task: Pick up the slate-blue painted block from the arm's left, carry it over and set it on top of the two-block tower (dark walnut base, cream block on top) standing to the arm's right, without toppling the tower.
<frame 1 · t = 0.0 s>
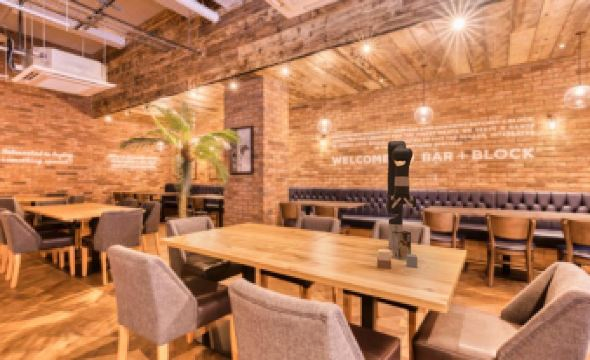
hand: (401, 214, 159), 29 cm above the table, fingers open, 8 cm apart
slate block: (411, 266, 164), on the table
tower base: (383, 266, 163), on the table, touching tower top
tower top: (383, 258, 163), point 4 cm above the table, touching tower base
coffee box: (401, 258, 181), on the table
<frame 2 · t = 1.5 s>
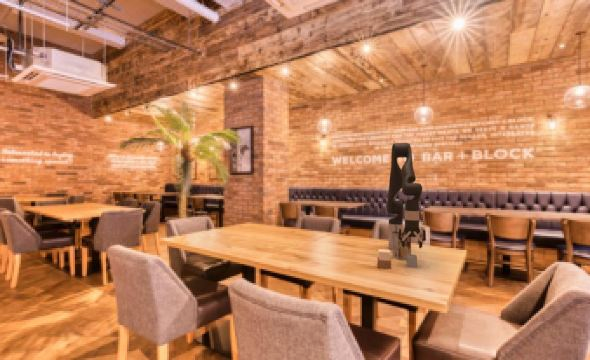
hand: (411, 247, 164), 10 cm above the table, fingers open, 8 cm apart
nothing on the table moved.
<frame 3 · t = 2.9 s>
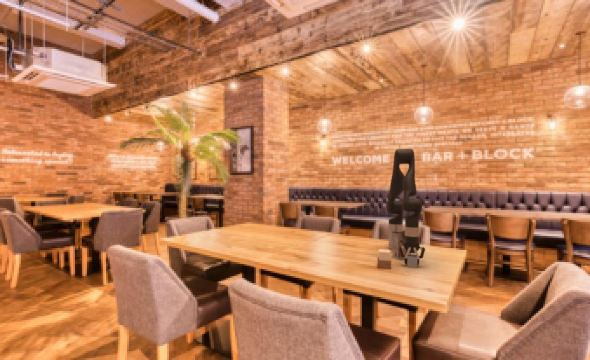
hand: (411, 264, 164), 1 cm above the table, fingers closed on slate block, 5 cm apart
slate block: (411, 266, 164), on the table, touching gripper
everything else where it was.
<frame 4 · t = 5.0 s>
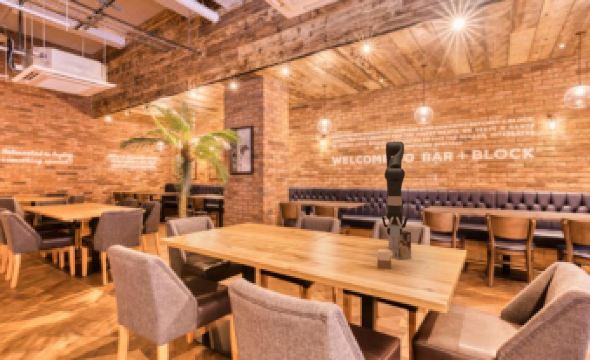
hand: (394, 234, 163), 18 cm above the table, fingers closed on slate block, 5 cm apart
slate block: (394, 236, 163), point 17 cm above the table, touching gripper
everything else where it was.
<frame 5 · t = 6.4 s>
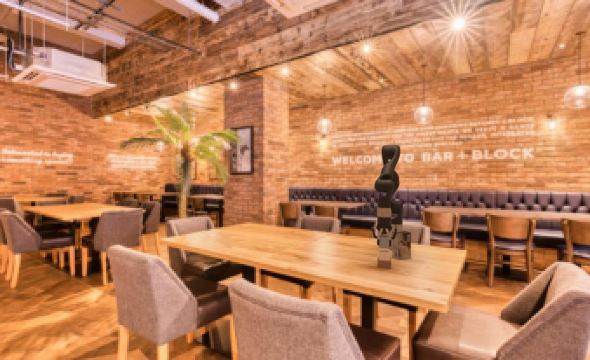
hand: (384, 246, 163), 11 cm above the table, fingers closed on slate block, 5 cm apart
slate block: (384, 247, 163), point 11 cm above the table, touching gripper
everything else where it was.
when the fingers open (11 cm above the table, at t = 7.4 s): slate block drops 1 cm, resting on tower top.
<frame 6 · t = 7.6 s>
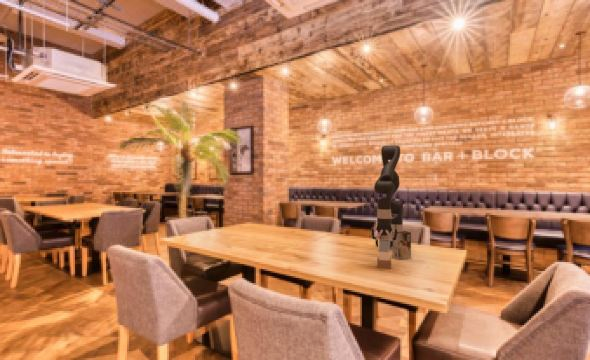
hand: (384, 246, 163), 11 cm above the table, fingers open, 6 cm apart
slate block: (384, 250, 163), point 9 cm above the table, touching tower top
tower top: (383, 258, 163), point 4 cm above the table, touching slate block, tower base
everything else where it was.
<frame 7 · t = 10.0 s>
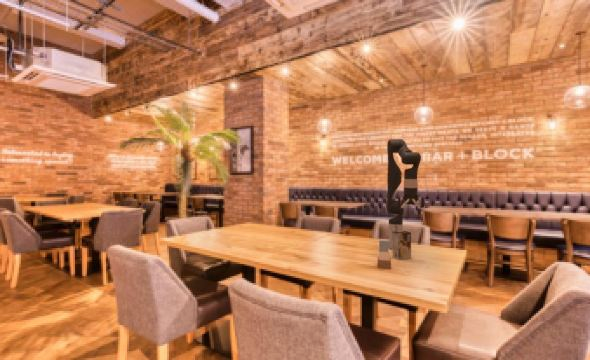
hand: (410, 214, 170), 28 cm above the table, fingers open, 8 cm apart
nothing on the table moved.
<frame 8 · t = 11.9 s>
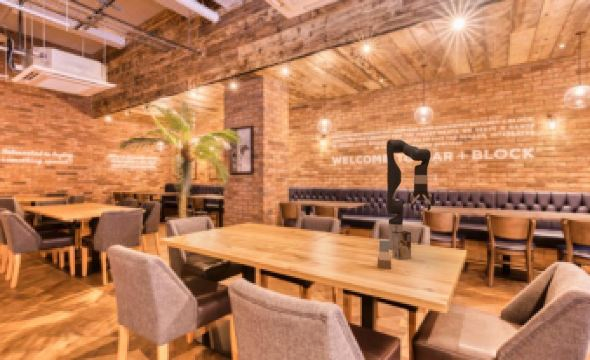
hand: (420, 210, 173), 30 cm above the table, fingers open, 8 cm apart
nothing on the table moved.
at the end: slate block 0.2 cm off-centre on the tower base, point 9.0 cm above the tower base's base; tower top 0.1 cm off-centre on the tower base, point 4.5 cm above the tower base's base; slate block tilted 0° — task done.
